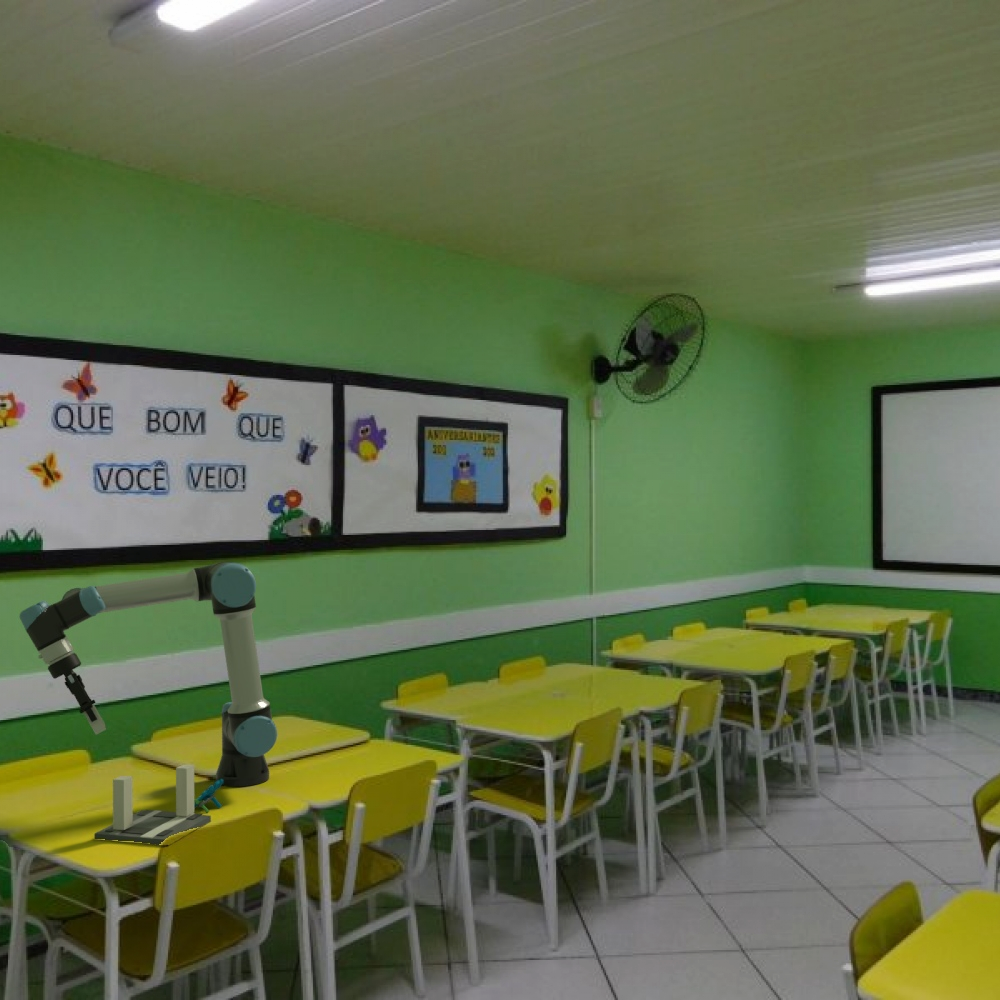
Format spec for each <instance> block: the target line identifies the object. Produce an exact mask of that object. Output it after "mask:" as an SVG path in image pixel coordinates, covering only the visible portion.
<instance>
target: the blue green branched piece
mask: <svg viewBox="0 0 1000 1000" xmlns="http://www.w3.org/2000/svg"><path fill="white" fill-rule="evenodd" d="M223 781H224V780H223V779H220V780H218V781H216V780H215V782H214V783H213V784H211V785H209V786H208V787H207V788H206V789H205V790H204V791H203V792H202V793H201V794H200V796H199V797H197V798H194V809H195V808H201V809H203V811H204V812H205V813H206V814H207V813H209V812H210V810H209V809H208V808H207V806H205V805H207V804H208V803H209V802H213V804H214V805H215V807H217V808H218V809H220V808H221V807H222V804H221V803H220V802H219V801H218V799H217V798H216V796H215V793H216V791H218V790H219V789H220V788H221V786H223V785H222V784H223V783H224V782H223Z"/></svg>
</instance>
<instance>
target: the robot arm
mask: <svg viewBox="0 0 1000 1000" xmlns="http://www.w3.org/2000/svg"><path fill="white" fill-rule="evenodd" d="M256 589H257V582H256V578H255V575H254V574H253V573H252V571H251V570H250V569H249V568H248V567H247V566H246V565H244V564H241V563H238V562H233V561H220V562H216V563H213V564H210V565H205V566H202V567H201V566H200V567H195V568H191V569H190V571H188V572H185V573H178V574H171V575H164V576H157V577H150V578H143V579H136V580H130V581H129V580H128V581H123V582H117V583H116V582H115V583H109V584H102V585H96V586H95V585H89V586H86V587H82V588H81V587H76V588H75V587H74V588H71V589H69V590H67V591H65V593H64V594H63V596H62V598H61V599H60V600H59V601H57V602H55V603H52V604H49V603H48V602H47V601H46V600H41V601H39V602H37V603H35V604H33V605H30V606H29V607H27V608H25V609H24V610H22V611H20V613H19V619H20V621H21V623H22V625H23V628H24V630H25V631H26V633H27V635H28V636H29V639H30V640H31V641H32V643H33V645H34V647H35V649H36V650H37V651H38V653H39V655H38V659H42V661H43V662H44V664H45V665H48V666H47V670H48V671H49V674H50V675H51V677H52V678H53V679H57V678H60V677H61V676H63V675H64V680H65V681H64V685H65V686H66V689H68V690H69V692H70V694H71V695H73V697H74V698H75V699H76V701H77V704H78V705H79V707H80V708H79V710H78V712H79V713H80V714H83V715H84V717H85V718H86V720H87V722H88V723H89V725H90V727H91V729H92V730H93V732H94V735H96V736H97V735H99V734H101V733H102V732H105V731H106V730H107V728H106V724H105V721H104V720H103V718H102V716H101V714H100V712H99V711H98V709H97V707H96V706H95V704H96V700H95V699H91V697H90V695H89V694H88V693H87V691H86V688H85V687H86V686H85V684H84V682H83V678H82V677H81V676H80V674H77V673H76V672H74V670H75V669H77V668H78V667H80V666H81V665H82V662H81V660H80V658H79V657H78V655H77V653H75V652H74V647H73V646H72V643H71V642H70V640H69V638H68V637H67V636H66V634H65V631H67V630H69V629H71V628H72V627H74V626H76V625H78V624H80V623H82V622H84V621H87V620H88V619H90V618H92V617H95V616H97V615H98V614H102V613H108V612H109V613H110V612H114V611H115V612H116V611H121V610H123V611H124V610H128V609H134V608H135V609H136V608H141V607H147V606H154V605H161V604H167V603H174V602H180V601H186V600H193V601H195V602H202V601H211V605H212V606H211V607H212V611H213V612H212V613H213V615H214V616H215V617H216V618H217V619H219V622H220V628H221V635H222V642H223V649H224V656H225V663H226V668H227V669H226V670H227V677H228V683H229V684H228V685H229V689H230V697H231V701H229V702H225V703H224V704H222V708H221V713H220V714H221V741H222V742H221V751H222V752H221V756H220V757H221V758H220V760H219V764H218V767H217V770H216V773H215V782H216V781H218V780H220V779H223V780H224V781H223V782H224V783H223V784H222V785H221V786H224V785H228V786H227V787H247V786H255V785H260V784H262V783H264V782H267V781H269V780H270V769H269V766H268V762H267V760H266V757H265V754H267V753H268V752H270V751H271V750H272V748H273V747H274V745H275V744H276V742H277V738H278V730H277V726H276V723H274V721H273V716H272V709H271V704H270V701H268V700H267V699H266V698H265V697H264V692H263V686H262V680H261V672H260V664H259V657H258V652H257V651H258V650H257V646H256V645H257V643H256V635H255V630H254V622H253V616H252V614H253V612H254V611H255V610H256V608H257V605H256V604H257V603H256V598H255V594H256Z"/></svg>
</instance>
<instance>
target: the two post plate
mask: <svg viewBox="0 0 1000 1000" xmlns="http://www.w3.org/2000/svg"><path fill="white" fill-rule="evenodd" d="M175 794H176V795H175V803H176V804H175V811H168V810H167V811H165V810H155V809H154V810H152V809H145V810H144V809H141V810H139V811H137V812H135V813H133V826H131V827H129V828H127V829H125V830H117V829H113V824H111V825H109V826H106V827H105V828H102V829H101V830H99V831H97V832H95V833H94V835H93V836H94V837H93V838H94V839H105V840H118V841H134V842H142V843H150V844H156V845H155V846H160V845H159V844H161V842H163V841H164V840H165V839H166V838H168V837H169V836H171V835H174V834H177V833H179V832H183V831H187V830H189V829H193V828H197V827H200V828H202V827H204V826H205V825H207V824H209V823H211V822H212V820H211V819H212V816H211V815H208V814H207V815H206V814H203V813H195V808H194V800H195V765H194V764H182V765H179V766H177V767H176V768H175ZM203 825H204V826H203ZM201 826H202V827H201Z"/></svg>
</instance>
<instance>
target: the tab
mask: <svg viewBox="0 0 1000 1000" xmlns="http://www.w3.org/2000/svg"><path fill="white" fill-rule="evenodd" d="M133 779H134V778H133V775H132V776H131V775H120V776H118V777H116V778H115V777H114V778H113V779H112V825H113V829H117V830H125V829H127V828H129V827H131V826H133V814H134V813H133V812H134V811H133V807H134V804H133V803H134V802H133V801H134V800H133V797H134V795H133V792H134V791H133V790H134V789H133V788H134V787H133Z"/></svg>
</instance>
